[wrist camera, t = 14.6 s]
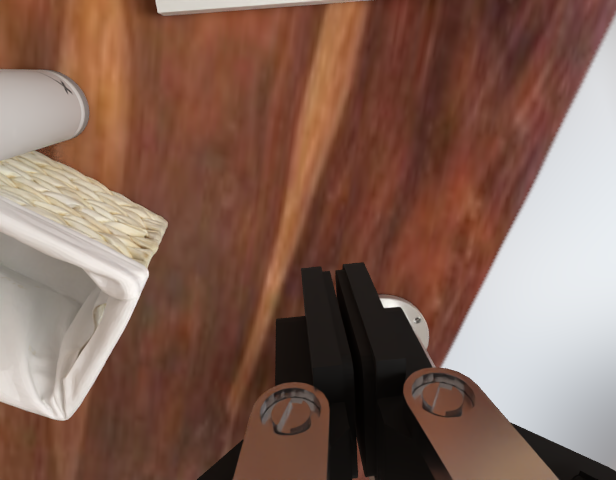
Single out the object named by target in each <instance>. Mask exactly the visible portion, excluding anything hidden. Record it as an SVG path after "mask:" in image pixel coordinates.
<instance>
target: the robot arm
mask: <svg viewBox="0 0 616 480" xmlns="http://www.w3.org/2000/svg"><path fill="white" fill-rule="evenodd" d="M301 273H302V285H303V296H304V307H305V316H301V317H291V318H281V319H276V368H275V386H274V387H272V388H270V389H269V390H267V391H266V392H264V393H263V394H262V395H261V396H260V397H259V398H258V399H257V400H256V402H255V404H254V406H253V408H252V411H251V415H250V419H249V422H248V426H247V430H246V433H245V437H244V439H243V440H242V441H241V442H240V443H238V444H237V445H236V446H235V447H234V448H233V449H232V450H230V451H229V452H228V453H227V454H226V455H225V456H223V457H222V458H221V459H220V460H219V461H218V462H217V463H215V464H214V465H213V466H212V467H211V468H210V469H209V470H207V471H206V472H205V473H204V474H203V475H202V476H200V477H199V478H198V479H197V480H352V478H358V466H357V442H358V446H359V451H360V456H361V461H362V465H363V470H364V474H365V477H369V479H370V480H616V471H614V470H613V469H611V468H609V467H607V466H604V465H602V464H600V463H598V462H596V461H593V460H591V459H589V458H587V457H585V456H583V455H581V454H579V453H576V452H574V451H572V450H570V449H568V448H565V447H563V446H561V445H559V444H557V443H554V442H552V441H550V440H548V439H546V438H543V437H541V436H539V435H537V434H535V433H532V432H530V431H528V430H526V429H524V428H521V427H519V426H517V425H515V424H512V423H510V422H509V421H508V420H507V419H506V417H505V416H504V415H503V414H502V413H501V412H500V411H499V409H498V408H497V407H496V406H495V405H494V404H493V402H492V401H491V400H490V399H489V398H488V397H487V395H486V394H485V393H484V392H483V391H482V390H481V389H480V387H479V386H478V385H477V384H475V382H473V381H472V380H471V379H470V378H468V377H467V376H465V375H463V374H461V373H459V372H457V371H453V370H450V369H446V368H437V367H435V366H434V364H433V362H432V360H431V358H430V356H429V354H428V352H427V351H426V349H427V347H428V341H429V330H428V327H427V323H426V321H425V319H424V317H423V316H422V314H421V313H420V311H419V310H418V309H417V308H416V307H415V306H414V305H413V304H411V303H410V302H408V301H406V300H405V299H403V298H400V297H396V296H393V295H384V294H383V295H378V294H377V291H376V289H375V287H374V285H373V282H372V280H371V278H370V276H369V273H368V271H367V269H366V267H365V264H364V263H352V264H343V269H342V270H336V273H335V274H336V293H337V298H336V294H335V290H334V286H333V282H332V278H331V274H330V271H325V272H322V268H321V267H311V268H301ZM356 437H357V441H356Z"/></svg>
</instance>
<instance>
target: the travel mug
mask: <svg viewBox="0 0 616 480" xmlns="http://www.w3.org/2000/svg"><path fill="white" fill-rule="evenodd" d="M88 119H89V106H88V102H87V99H86V97H85V95H84V93H83V91H82V90H81V89H80V87H79V86H78V85H77V84H76V83H75V82H74V81H73V80H72V79H70V78H69V77H67V76H66V75H64V74H62V73H60V72H56V71H53V70H27V69H0V161H2V160H5V159H9V158H12V157H15V156H18V155H21V154H25V153H28V152H31V151H34V150H37V149H40V148H44V147H47V146H50V145H53V144H56V143H59V142H63V141H66V140H69V139H72V138H75V137H76V136H78V135H79V134H80V133H81V132H82V131H83V130H84V129H85V127H86V125H87V123H88Z"/></svg>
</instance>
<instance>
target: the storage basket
mask: <svg viewBox="0 0 616 480" xmlns="http://www.w3.org/2000/svg"><path fill="white" fill-rule="evenodd" d="M167 226H168V222H167V221H166V220H165V219H164V218H162V217H161V216H158V215H157V214H155V213H153V212H151V211H149V210H148V209H146V208H144V207H143V206H140V205H138V204H136V203H133V202H132V201H130V200H129V199H128V198H126V197H125V196H123V195H121V194H119V193H116V192H113V191H110V190H108V188H106V187H105V186H104V185H103V184H101V183H100V182H98V181H96V180H95V179H92V178H90V177H87V176H84V175H83V174H81V173H80V172H78V171H77V170H75V169H73V168H71V167H69V166H67V165H64V164H62V163H60V162H57V161H54V160H52V159H50V158H49V157H47V156H45V155H43V154H42V153H39V152H37V151H35V150H34V151H31V152H28V153H25V154H21V155H18V156H15V157H12V158H9V159H5V160H2V161H0V402H3V403H6V404H9V405H12V406H15V407H17V408H20V409H23V410H26V411H29V412H32V413H36V414H39V415H42V416H45V417H48V418H51V419H54V420H61V421H64V420H67V419H69V418H70V417H71V416H72V415H73V414H74V413H75V411H76V410H77V409H78V407H79V406H80V405H81V403H82V401H83V400H84V398H85V396H86V395H87V393H88V391H89V390H90V388H91V387H92V385H93V383H94V382H95V380H96V378H97V376H98V375H99V373H100V371H101V369H102V368H103V366H104V364H105V362H106V360H107V359H108V357H109V355H110V353H111V352H112V350H113V348H114V347H115V345H116V343H117V341H118V340H119V338H120V336H121V334H122V333H123V331H124V329H125V327H126V325H127V323H128V321H129V319H130V317H131V315H132V313H133V310H134V308H135V306H136V304H137V301H138V299H139V297H140V295H141V292H142V289H143V287H144V285H145V283H146V281H147V279H148V277H149V272H148V269H147V268H148V265H149V262H150V260H151V258H152V256H153V255H154V254H155V253H156V251H157V250H158V245H159V244H160V242H161V240H162V237H163V235H164V233H165V230H166V228H167Z"/></svg>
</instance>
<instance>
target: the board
mask: <svg viewBox="0 0 616 480" xmlns="http://www.w3.org/2000/svg"><path fill="white" fill-rule="evenodd" d="M155 1H156V6H157V11H158V13H159V14H161V15H163V16H170V15H184V14H197V13H210V12H223V11H236V10H250V9H263V8H276V7H289V6H303V5H316V4H329V3H342V2H356V1H369V0H155Z"/></svg>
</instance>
